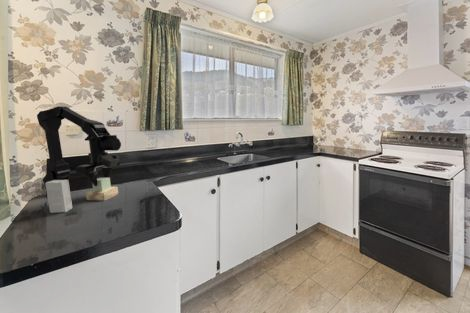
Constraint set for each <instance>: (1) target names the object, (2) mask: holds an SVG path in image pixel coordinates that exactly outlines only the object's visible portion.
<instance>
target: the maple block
mask: <svg viewBox="0 0 470 313" xmlns="http://www.w3.org/2000/svg"><path fill="white" fill-rule="evenodd" d="M118 188H119V187H118V186H111V188H110V189H107V190H105V191H93V189H90V190H88V191H86V192H85V196H86V200H87V201H106V200H109V199H111V198H114V197H115V196H117V195H119V189H118Z"/></svg>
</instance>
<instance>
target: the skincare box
mask: <svg viewBox="0 0 470 313" xmlns="http://www.w3.org/2000/svg"><path fill="white" fill-rule="evenodd" d="M44 185H45V189H46V197H47V202H48V208H49V213H51V214H55V213H66V212H69V211H70V210H72V209H73V203H72V196H71V195H72V194H71V190H70V182H69V179H68V180H53V181H50V182H46V183H45V184H44Z"/></svg>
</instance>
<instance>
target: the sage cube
mask: <svg viewBox="0 0 470 313" xmlns="http://www.w3.org/2000/svg"><path fill="white" fill-rule="evenodd" d="M91 183H92V182H91ZM111 187H112V184H111V177H109V178H106V177H104V176H103V177H100V176H99V177H97V186H94V184H93V183H92V190H93V191H105V190H107V189H110V188H111Z"/></svg>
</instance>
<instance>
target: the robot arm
mask: <svg viewBox="0 0 470 313" xmlns="http://www.w3.org/2000/svg"><path fill="white" fill-rule="evenodd" d="M36 118H37V121H38V124H39V126H40V128H42V129H43V131H44V133H45V140H46V145H47V152H48V158H49V163H48V165H47V166H46V174H45V176H43V179H42V182H43V184H44V185H46V184H45V183H46V182H50V181H53V180H68V181H69V177H70V175H71V174H70V173H71V169H70V164H69V162H66V161H65V160H64V158H63V157H64V156H63V151H62V144H61V138H60V132H59V130H60V128H61V126H62V121H63V120H67V121H69V122H71V123H72V124H74V125H76V126H78V127H80V129H81V131H82V132H84V133H85V134H86V137H85V138H84V141H86V142H87V141H88V145H89V153H87V155H88V156H89V157H90V162H88V163H89V164H81V165H78V166H76V168H75V173H76V174H84V175H85V176H86V177H87V178H88V179H89V180H90V182H91V183H93V184H94V186H97V178H98V176H97V175H98V174H99V171H98V170H97V169H100V168H101V172H102V175H103V177H106V178H111V177H110V176H111V173H112V171H113V170H114V169H116V167H117V166H120V165H121V164H120V163H121V162H120V156H119V155H118V154H114V155H113V156H112V155H111V156H110V155H109V153H108V151H110V152H111V151H115V152H116V151H119V150H120V149H121V146H122V143H121V141H120V139H119V138H118V136H117V134H113V135H112V134H111V133H110V132H109V131H108V129H107V128H106V125H105V124H104V123H103V122H100V121H98V120H95V119H89V118H87V117H85V116H84V115H81V114H80V113H78V112H77V111H74V110H73V109H71V108H70V107H68V106H64V105H63V106H62V105H57V106H55V107H53V108H49V109H45V110H41V111H39V112H38V113H37V115H36ZM93 184H92V185H93Z"/></svg>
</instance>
